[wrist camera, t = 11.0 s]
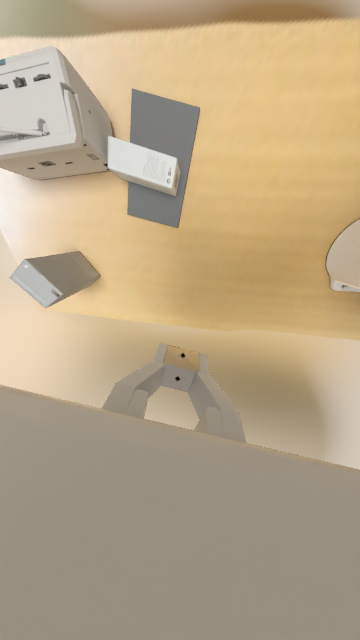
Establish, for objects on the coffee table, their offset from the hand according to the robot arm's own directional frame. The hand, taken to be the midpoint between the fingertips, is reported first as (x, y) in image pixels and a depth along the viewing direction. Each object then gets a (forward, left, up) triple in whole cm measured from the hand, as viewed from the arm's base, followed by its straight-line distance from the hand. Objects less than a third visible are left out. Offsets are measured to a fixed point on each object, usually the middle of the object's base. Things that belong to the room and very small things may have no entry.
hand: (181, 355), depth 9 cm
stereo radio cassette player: (+31, -15, -34) cm, 48 cm away
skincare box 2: (+7, -14, -31) cm, 35 cm away
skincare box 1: (+30, +9, -34) cm, 46 cm away
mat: (+12, -16, -34) cm, 40 cm away
